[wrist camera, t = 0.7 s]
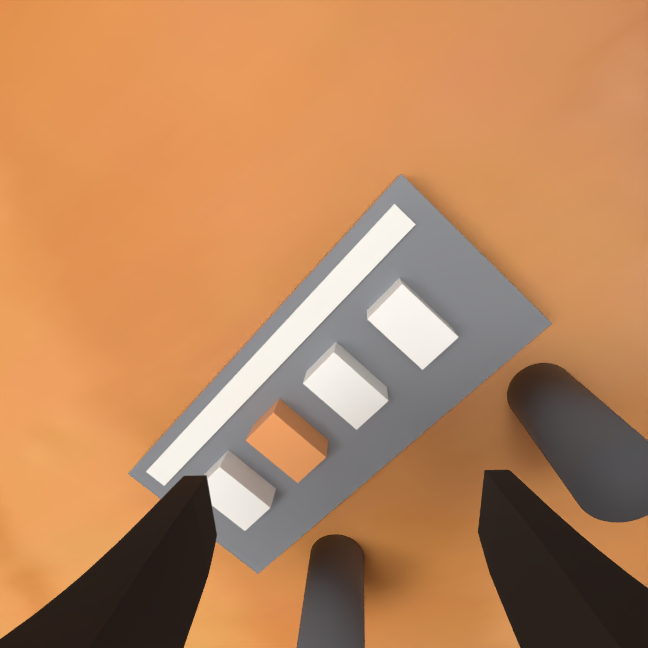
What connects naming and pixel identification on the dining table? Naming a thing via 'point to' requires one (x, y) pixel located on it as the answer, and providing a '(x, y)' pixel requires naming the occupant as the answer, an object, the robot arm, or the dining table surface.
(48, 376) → the dining table surface
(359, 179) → the dining table surface
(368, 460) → the breaker panel
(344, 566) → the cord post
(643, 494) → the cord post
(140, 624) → the robot arm
